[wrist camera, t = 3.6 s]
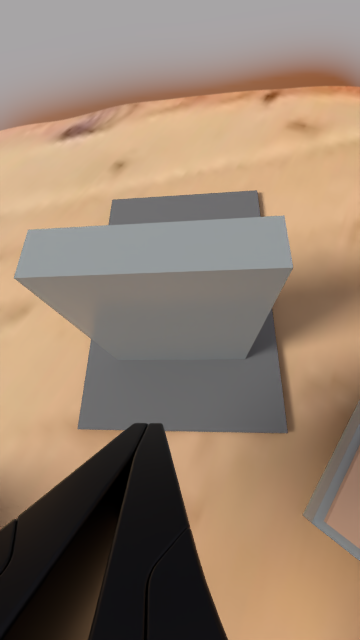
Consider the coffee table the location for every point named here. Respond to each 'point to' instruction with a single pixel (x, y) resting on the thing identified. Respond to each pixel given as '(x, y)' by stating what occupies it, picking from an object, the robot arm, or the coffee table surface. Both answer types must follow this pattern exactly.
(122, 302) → the tile
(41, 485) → the coffee table surface
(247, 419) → the mat
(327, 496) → the tile
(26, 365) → the coffee table surface
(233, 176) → the coffee table surface
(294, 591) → the coffee table surface
